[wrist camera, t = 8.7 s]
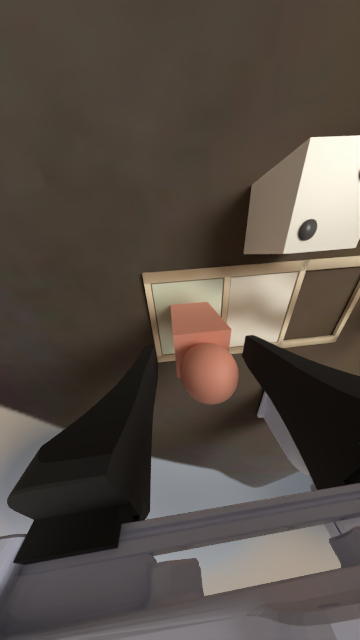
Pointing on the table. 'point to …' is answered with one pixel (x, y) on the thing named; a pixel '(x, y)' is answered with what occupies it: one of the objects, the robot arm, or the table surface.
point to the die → (308, 200)
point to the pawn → (203, 352)
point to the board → (240, 300)
